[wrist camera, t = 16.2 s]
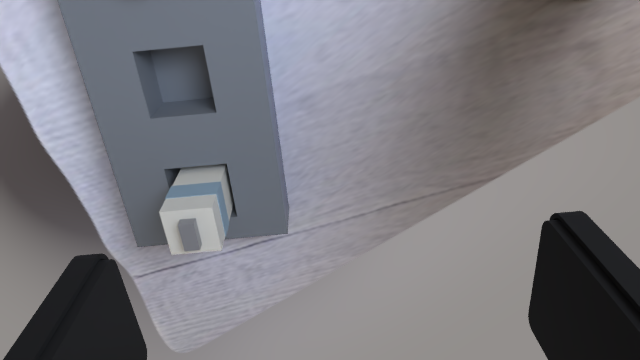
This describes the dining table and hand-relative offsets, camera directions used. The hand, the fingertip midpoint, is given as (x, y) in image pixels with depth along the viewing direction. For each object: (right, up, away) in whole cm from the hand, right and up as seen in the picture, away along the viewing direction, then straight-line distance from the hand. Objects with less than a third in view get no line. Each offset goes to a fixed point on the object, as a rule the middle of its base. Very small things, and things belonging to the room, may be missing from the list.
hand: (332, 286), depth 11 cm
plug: (-10, +3, +35) cm, 37 cm away
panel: (-12, +11, +31) cm, 35 cm away
